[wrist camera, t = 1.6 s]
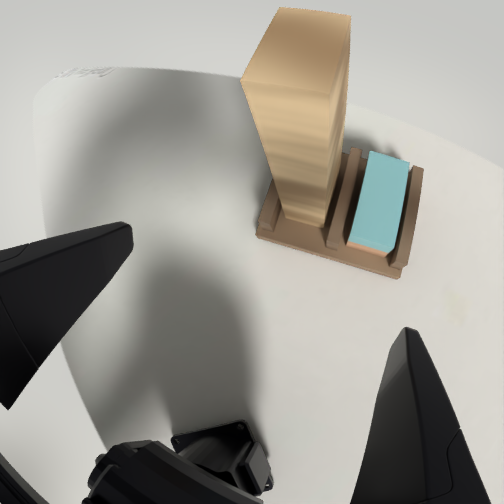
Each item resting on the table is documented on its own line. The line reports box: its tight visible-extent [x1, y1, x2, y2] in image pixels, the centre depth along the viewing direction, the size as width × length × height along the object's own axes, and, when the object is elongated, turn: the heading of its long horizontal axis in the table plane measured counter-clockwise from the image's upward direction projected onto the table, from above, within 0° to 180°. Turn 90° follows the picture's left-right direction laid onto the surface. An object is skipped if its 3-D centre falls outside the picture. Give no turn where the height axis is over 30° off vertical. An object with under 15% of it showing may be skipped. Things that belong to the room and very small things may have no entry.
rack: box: [255, 147, 424, 279], centre depth 21 cm, size 8×11×3 cm
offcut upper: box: [348, 151, 409, 253], centre depth 19 cm, size 6×3×2 cm, turn 161°
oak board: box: [240, 7, 351, 229], centre depth 15 cm, size 4×3×14 cm, turn 161°
